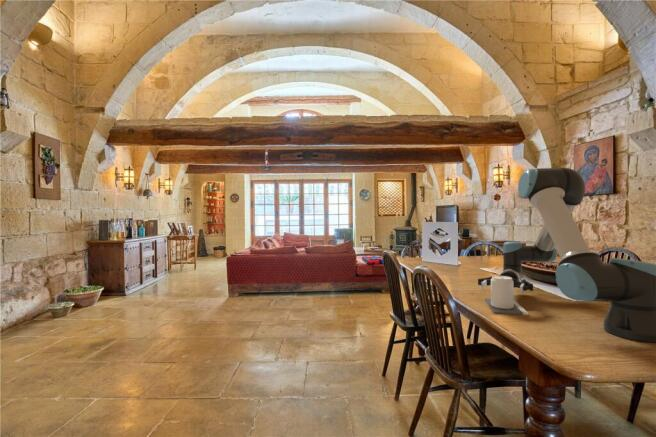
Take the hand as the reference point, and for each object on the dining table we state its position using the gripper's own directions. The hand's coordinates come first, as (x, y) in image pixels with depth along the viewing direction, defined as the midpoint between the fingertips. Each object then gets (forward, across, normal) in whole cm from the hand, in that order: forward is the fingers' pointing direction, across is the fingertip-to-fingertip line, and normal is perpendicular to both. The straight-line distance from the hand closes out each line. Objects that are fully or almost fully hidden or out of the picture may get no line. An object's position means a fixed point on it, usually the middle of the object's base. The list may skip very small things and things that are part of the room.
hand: (501, 288), depth 131 cm
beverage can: (-3, 0, -8) cm, 9 cm away
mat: (-7, 0, -9) cm, 11 cm away
